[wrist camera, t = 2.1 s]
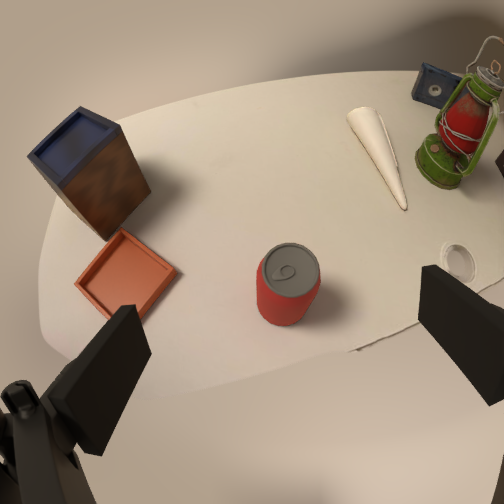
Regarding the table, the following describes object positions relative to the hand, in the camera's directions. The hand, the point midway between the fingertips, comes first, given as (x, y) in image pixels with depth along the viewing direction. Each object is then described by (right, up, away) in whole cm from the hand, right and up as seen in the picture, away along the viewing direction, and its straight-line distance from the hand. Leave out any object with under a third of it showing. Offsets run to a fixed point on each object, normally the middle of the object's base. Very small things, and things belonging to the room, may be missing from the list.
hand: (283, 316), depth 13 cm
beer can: (+3, -4, +27) cm, 28 cm away
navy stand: (-25, +11, +35) cm, 44 cm away
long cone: (+20, +18, +37) cm, 46 cm away
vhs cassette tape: (+45, +38, +45) cm, 74 cm away
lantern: (+34, +19, +37) cm, 54 cm away
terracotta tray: (-19, -1, +29) cm, 35 cm away
